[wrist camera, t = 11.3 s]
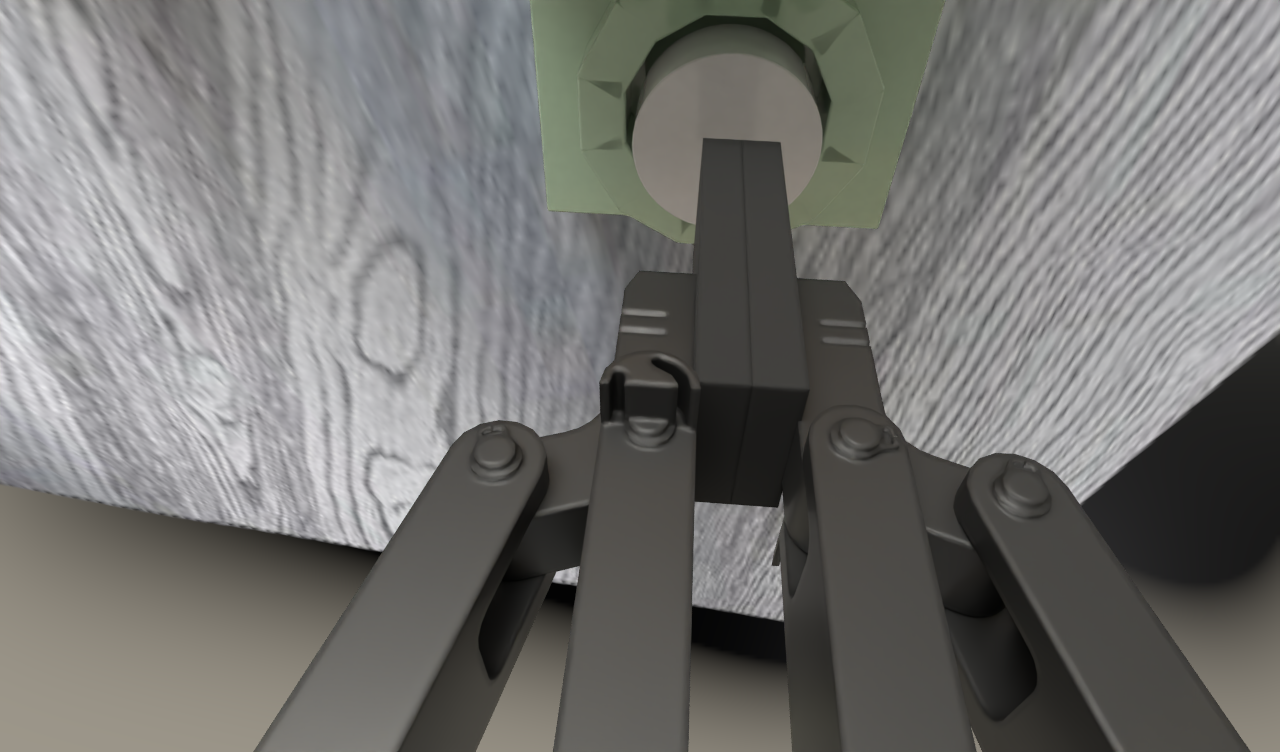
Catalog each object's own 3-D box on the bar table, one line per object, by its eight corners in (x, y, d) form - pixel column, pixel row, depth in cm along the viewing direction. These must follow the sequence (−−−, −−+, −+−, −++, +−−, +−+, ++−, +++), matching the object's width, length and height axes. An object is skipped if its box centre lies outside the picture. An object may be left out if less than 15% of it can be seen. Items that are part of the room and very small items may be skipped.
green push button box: (562, 159, 24) (537, 246, 21) (544, -125, 19) (505, -72, 15) (862, 175, 24) (888, 266, 20) (937, -111, 18) (990, -52, 15)
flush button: (636, 188, 20) (630, 224, 19) (638, 18, 17) (632, 48, 15) (798, 197, 20) (803, 234, 18) (832, 27, 16) (842, 58, 15)
